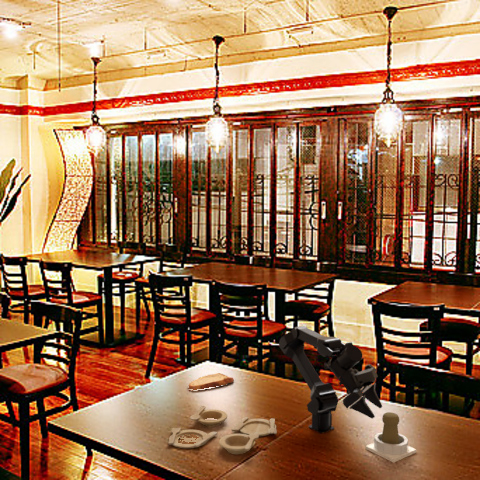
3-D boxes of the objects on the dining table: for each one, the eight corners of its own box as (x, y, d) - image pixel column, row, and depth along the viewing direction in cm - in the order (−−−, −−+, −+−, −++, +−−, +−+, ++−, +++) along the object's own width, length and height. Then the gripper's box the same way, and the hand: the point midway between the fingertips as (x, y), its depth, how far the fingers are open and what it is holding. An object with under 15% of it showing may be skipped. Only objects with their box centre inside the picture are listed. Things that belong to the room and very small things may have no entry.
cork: (400, 452, 173) (401, 418, 172) (380, 450, 175) (381, 416, 174) (399, 444, 179) (400, 410, 178) (379, 442, 180) (380, 409, 179)
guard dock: (393, 462, 169) (393, 449, 169) (365, 448, 178) (365, 436, 178) (416, 452, 176) (416, 440, 175) (388, 439, 184) (388, 428, 184)
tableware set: (284, 425, 197) (285, 414, 197) (260, 463, 170) (260, 451, 169) (193, 412, 208) (193, 402, 208) (157, 447, 181) (157, 434, 181)
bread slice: (185, 392, 230) (185, 383, 229) (195, 377, 247) (195, 369, 247) (228, 394, 227) (228, 385, 227) (235, 379, 245) (235, 371, 245)
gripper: (353, 366, 171) (388, 408, 167) (370, 351, 187) (402, 389, 183) (328, 387, 176) (362, 428, 171) (347, 370, 192) (378, 407, 188)
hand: (377, 412), depth 178 cm, fingers open, 9 cm apart
